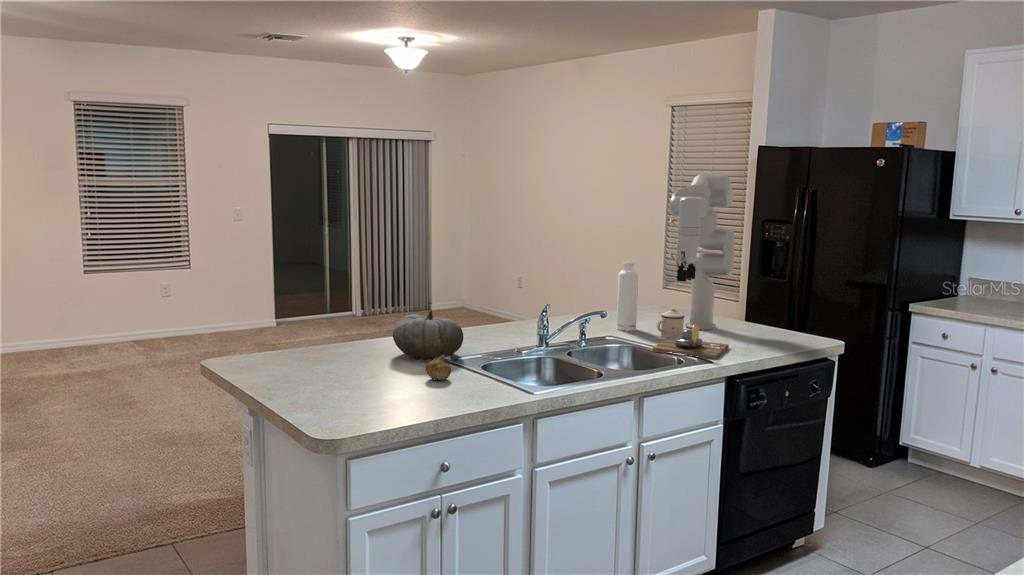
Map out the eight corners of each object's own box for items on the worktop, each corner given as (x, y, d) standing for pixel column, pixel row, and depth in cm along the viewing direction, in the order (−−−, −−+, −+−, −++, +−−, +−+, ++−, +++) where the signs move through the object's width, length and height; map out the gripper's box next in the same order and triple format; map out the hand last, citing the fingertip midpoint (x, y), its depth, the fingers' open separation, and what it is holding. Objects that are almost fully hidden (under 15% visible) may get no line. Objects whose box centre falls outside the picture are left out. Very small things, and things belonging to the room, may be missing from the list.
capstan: (671, 341, 298) (672, 318, 296) (698, 341, 298) (699, 318, 297) (681, 350, 283) (682, 326, 282) (709, 351, 284) (710, 326, 282)
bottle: (616, 326, 334) (618, 260, 330) (635, 327, 333) (638, 261, 329) (616, 330, 326) (618, 263, 322) (636, 331, 325) (638, 263, 321)
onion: (427, 376, 253) (427, 351, 252) (452, 376, 253) (452, 352, 252) (424, 382, 246) (423, 357, 244) (449, 383, 245) (449, 358, 244)
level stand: (668, 341, 308) (668, 336, 308) (728, 348, 298) (728, 343, 297) (652, 351, 291) (653, 346, 290) (715, 359, 280) (716, 354, 280)
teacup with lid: (672, 333, 322) (674, 305, 320) (688, 338, 314) (689, 309, 313) (649, 336, 316) (650, 307, 314) (664, 341, 308) (666, 311, 307)
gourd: (406, 361, 261) (408, 308, 261) (379, 357, 282) (380, 308, 283) (474, 360, 273) (475, 310, 274) (443, 357, 295) (444, 310, 296)
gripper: (686, 230, 292) (684, 276, 294) (670, 232, 277) (667, 281, 280) (706, 231, 288) (703, 278, 291) (690, 233, 274) (688, 283, 276)
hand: (686, 279), depth 285 cm, fingers open, 9 cm apart
